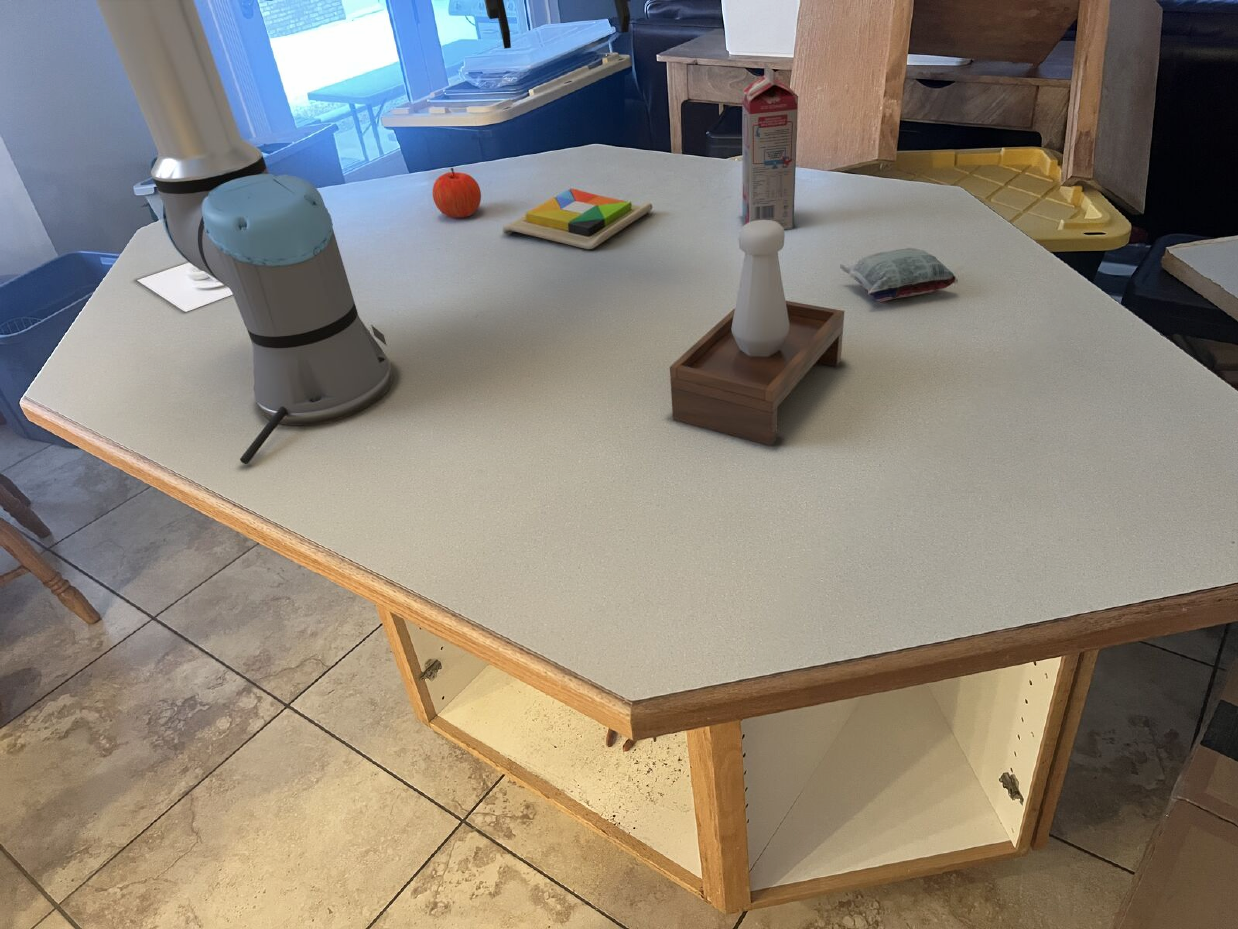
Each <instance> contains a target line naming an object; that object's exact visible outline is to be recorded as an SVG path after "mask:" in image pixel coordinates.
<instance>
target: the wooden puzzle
mask: <svg viewBox="0 0 1238 929" xmlns="http://www.w3.org/2000/svg"><path fill="white" fill-rule="evenodd" d="M652 209H653V203H651V202H648V203H646V204H644V205H643V206H641V205H637V204H632V201H626V200H623V199H618V198H613V197H608V196H603V195H598V194H596V193H592V192H588V191H583V190H580V189H575V188H569V189H567V190H565V191H563V192H561V193H559V194H558V195H556V196H554V197H552V198H550V199H548V200H547V201H545V202H543V203H541V204H539V205H538V206H536V207H533V208H532V209H530V210H529V211H527V212H525V214H523V215H522V216H520V217H518V218H517V219H515V220H513V221H511V222H509V223H507V224H506V225H503V227H502V228H501V229H502V233H503V234H505V235H507V234H510V233H512V232H516V233H519V234H524V235H529V236H531V237H537V238H540V239H543V240H547V241H548V240H549V241H552V242H556V243H561V244H564V245H568V246H573V247H577V248H581V249H584V250H585V249H586V250H592V249H593V250H594V249H595V248H596V247H598V246H600V245H601V244H602V243H603V242H605V241H606V240H608V239H610V238H612V236H614V235H616V234H618V233H619V232H620V231H622V230H623V229H625V228H626V227H627V226H629V225H631V224H633V223H634V222H635V221H637V220H639V219H640V218H641V217H644V216H645V215H646V214H647V213H649V212H651V211H652Z"/></svg>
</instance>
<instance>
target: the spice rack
mask: <svg viewBox="0 0 1238 929" xmlns="http://www.w3.org/2000/svg"><path fill="white" fill-rule="evenodd" d="M785 301H786V307H787V313H788V319H789V332H788V335H787V337H786V339H785V341H784V343H783V345H782V347H781V349H780V350H779V351H777V352H776V353H774V354H772V355H770V356H768V357H760V356H749V355H747V354H746V353H744V352H743V351H741V350H740V349H739V347H738V344H737V342H736V340H735V338H734V336H733V334H732V329H731V328H732V323H733V317H734V312H735V307H734V308H733V309H732V310H730V312H729V313H728V314H726V316H724V317H723V318H722V319H721V320H719V321H718V323H717V324H715V325H714V326H713V327H712V328H711V329H710V330H708V331H707V332H706V333H705V334H704V335H703V336H702V337H701V338H700V339H699V340H698V341H696V342H695V343H694V344H693V345H692V346H691V347H690V348H689V349H687V351H685V353H683V354H682V355H681V356H680V357H678V359H676V361H674V362H673V363H672V364H671V365H670V366H669V378H670V379H669V380H670V394H671V395H670V396H671V412H672V413H671V414H672V420H674V421H678V422H681V423H685V424H690V425H692V426H696V427H699V428H703V429H707V430H710V431H714V432H718V433H721V434H725V435H729V436H733V437H737V438H740V439H744V440H747V441H751V442H755V443H759V444H763V445H765V446H769V447H772V446H773V445H774V444H775V442H776V441H777V437H778V436H777V435H778V434H777V432H778V407H779V406H780V405H781V404H782V402H783V401H784V400H785V399H786V397H787V396H788V395H789V394H790V393H791V392H792V390H793V389H794V388H795V387H796V386H797V385H798V384H799V382H801V380H802V379H803V378H804V377H805V375H806V374H807V373H808V372H809V371H810V370H811V369H812V367H813V366H814V365H815V364H816V363H818V364H822V365H827V366H831V367H838V366H839V364H840V363H841V360H842V348H843V337H844V336H843V335H844V322H845V310H843V309H835V308H830V307H824V306H818V305H812V304H808V303H802V302H797V301H790V300H786V299H785Z"/></svg>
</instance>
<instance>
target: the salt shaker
mask: <svg viewBox="0 0 1238 929" xmlns="http://www.w3.org/2000/svg"><path fill="white" fill-rule="evenodd" d="M785 233H786V232H785V229H784V228H783V227H782V226H781V225H780V224H779V223H778V222H775V221H771V220H756V221H752V222H748V223H747V224H745V223H744V225H742V227H740V230H739V235H738V246H739V250H741V252H743V253H744V257H743V262H742V266H741V274H740V278H739V279H740V280H739V285H738V290H737V296H736V300H735V306H734V308H735V312H734V317H733V323H732V328H731V329H732V334H733V336H734V338H735V340H736V342H737V344H738V347H739V349H740V350H741V351H743V352H744V353H746V354H747V355H749V356H760V357H768V356H770V355H772V354H774V353H776V352H777V351H779V350H780V349H781V347H782V345H783V343H784V341H785V339H786V337H787V335H788V332H789V319H788V313H787V307H786V301H787V300H786V296H785V291H784V285H783V279H782V272H781V265H780V259H779V251H781V250H783V249H784V246H785V236H786V234H785ZM785 300H786V301H785Z"/></svg>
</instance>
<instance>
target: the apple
mask: <svg viewBox="0 0 1238 929" xmlns="http://www.w3.org/2000/svg"><path fill="white" fill-rule="evenodd" d="M450 170H451V172H450V171H449V172H446V173H444V174H442V175H440V176H439V177H437V178H436V180H435V181H434V183H433V186H432V200H433V202H434V204H435V206H436V208H437V209H438V210H439V212H441V213H442V214H443V215H445V216H446V217H448V218H449V217H450V218H452V219H456V218H467V217H469V216H472V215H474V213H476V212H477V210H478V209H479V207H480V205H481V200H482V190H481V188H480V185H479V184H478V181H476V179H475V178H473V176H471V175H469V174H467V173H464V172H459V171H454V168H453V167H451V168H450Z"/></svg>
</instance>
